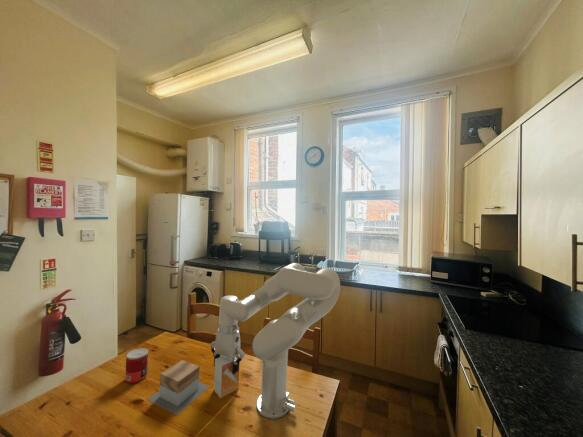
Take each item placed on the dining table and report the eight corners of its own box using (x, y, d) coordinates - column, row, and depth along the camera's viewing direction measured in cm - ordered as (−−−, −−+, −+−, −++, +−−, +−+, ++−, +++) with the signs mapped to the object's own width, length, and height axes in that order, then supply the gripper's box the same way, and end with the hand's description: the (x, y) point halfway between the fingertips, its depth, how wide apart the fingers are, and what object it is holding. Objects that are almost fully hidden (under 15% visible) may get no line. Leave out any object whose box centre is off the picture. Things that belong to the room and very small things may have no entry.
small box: (220, 399, 91) (221, 366, 91) (213, 390, 95) (214, 358, 95) (239, 389, 96) (240, 358, 96) (231, 381, 101) (232, 351, 101)
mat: (209, 387, 97) (209, 386, 97) (176, 416, 82) (176, 415, 82) (182, 376, 104) (182, 374, 104) (146, 400, 89) (146, 399, 89)
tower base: (198, 388, 95) (199, 377, 95) (177, 406, 86) (178, 393, 86) (181, 381, 100) (181, 370, 100) (159, 396, 90) (159, 385, 91)
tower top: (199, 377, 95) (199, 366, 95) (178, 393, 86) (178, 381, 86) (181, 370, 100) (182, 359, 100) (159, 385, 91) (160, 373, 91)
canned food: (145, 382, 99) (146, 356, 99) (122, 386, 96) (123, 359, 96) (148, 371, 106) (149, 346, 106) (127, 374, 103) (128, 349, 103)
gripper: (250, 328, 96) (248, 370, 96) (218, 318, 103) (216, 357, 103) (239, 336, 89) (237, 381, 89) (205, 325, 96) (203, 367, 96)
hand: (226, 368), depth 96 cm, fingers open, 9 cm apart
